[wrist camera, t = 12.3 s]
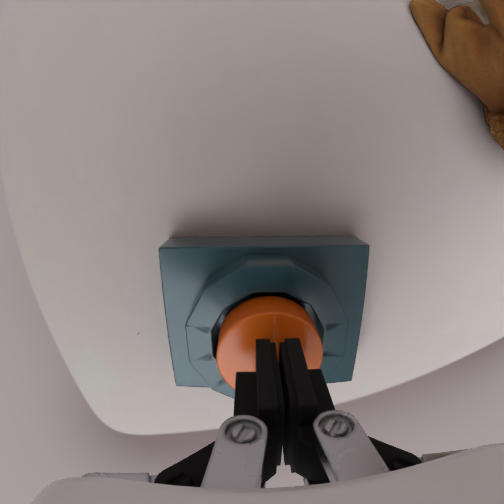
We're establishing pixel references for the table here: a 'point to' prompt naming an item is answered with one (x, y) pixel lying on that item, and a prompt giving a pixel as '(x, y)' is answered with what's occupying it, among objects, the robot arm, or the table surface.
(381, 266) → the table surface
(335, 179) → the table surface
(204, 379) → the dark teal square block
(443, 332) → the table surface
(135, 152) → the table surface
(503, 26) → the stuffed squirrel
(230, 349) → the button
